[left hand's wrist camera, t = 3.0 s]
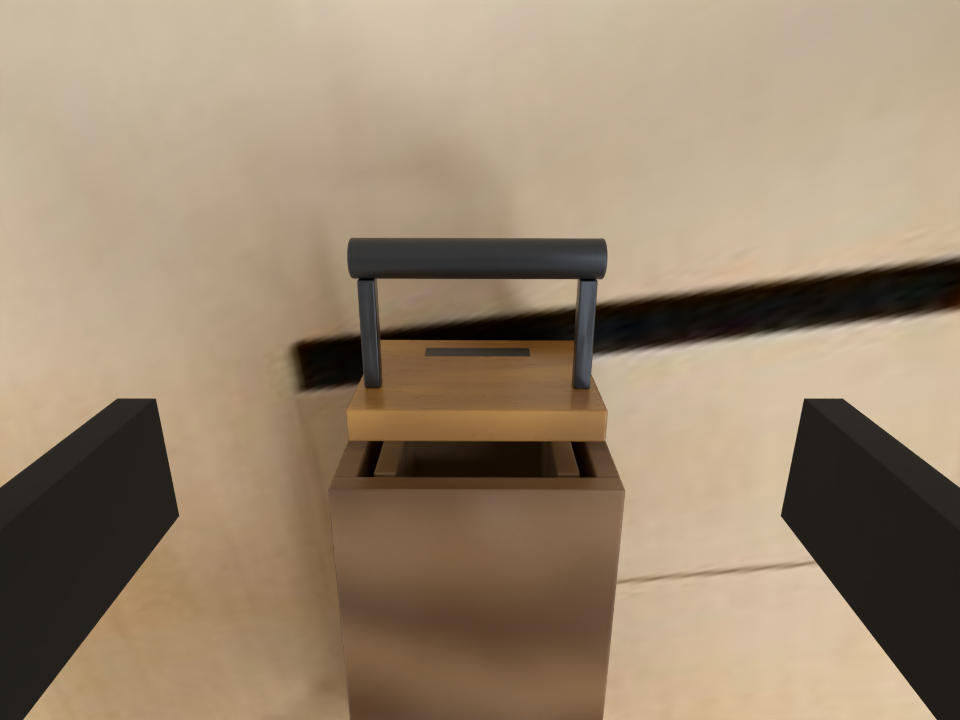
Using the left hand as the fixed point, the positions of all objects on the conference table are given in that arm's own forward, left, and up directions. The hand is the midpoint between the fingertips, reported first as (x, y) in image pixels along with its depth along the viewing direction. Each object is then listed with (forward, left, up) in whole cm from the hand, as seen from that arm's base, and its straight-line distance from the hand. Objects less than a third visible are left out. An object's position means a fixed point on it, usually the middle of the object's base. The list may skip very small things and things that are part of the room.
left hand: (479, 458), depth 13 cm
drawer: (+9, +5, -15) cm, 18 cm away
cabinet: (+14, +8, -16) cm, 23 cm away
